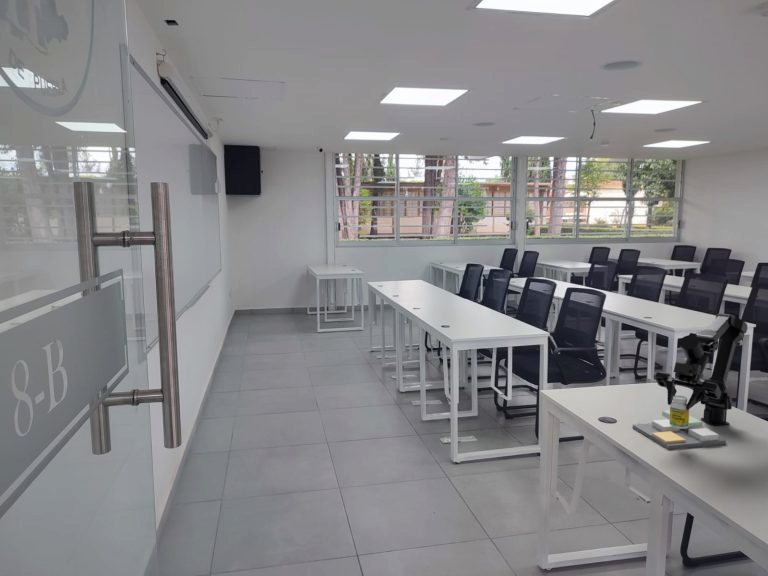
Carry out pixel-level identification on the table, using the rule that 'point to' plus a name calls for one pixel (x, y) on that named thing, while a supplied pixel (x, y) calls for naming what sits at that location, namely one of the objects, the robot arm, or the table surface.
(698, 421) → the green key
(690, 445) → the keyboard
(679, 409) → the supplement bottle
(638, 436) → the table surface
